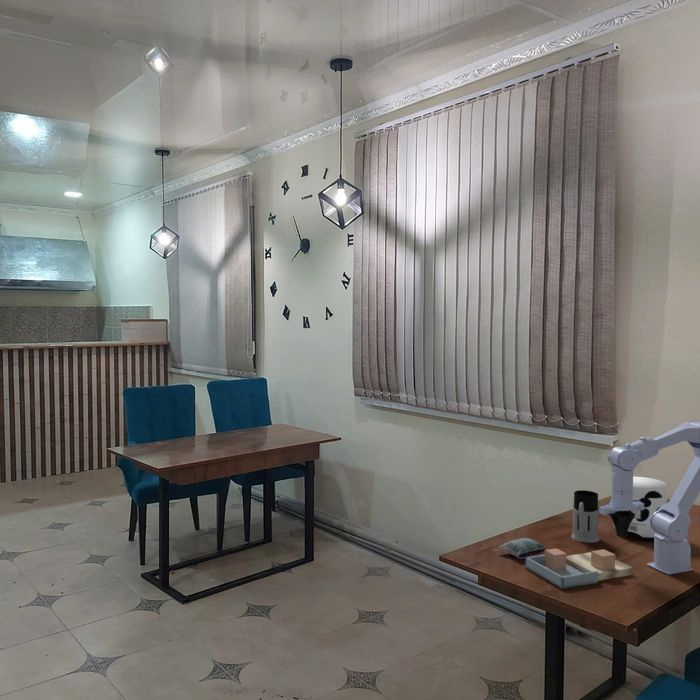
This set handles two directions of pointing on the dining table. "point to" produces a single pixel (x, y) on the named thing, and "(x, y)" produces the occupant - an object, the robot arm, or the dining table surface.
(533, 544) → the grey green pillow
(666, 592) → the dining table surface
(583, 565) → the board
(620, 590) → the dining table surface
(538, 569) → the tray
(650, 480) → the milk container
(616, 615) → the dining table surface
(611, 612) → the dining table surface
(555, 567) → the wooden cube
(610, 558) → the wooden cube
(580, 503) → the glass holder
